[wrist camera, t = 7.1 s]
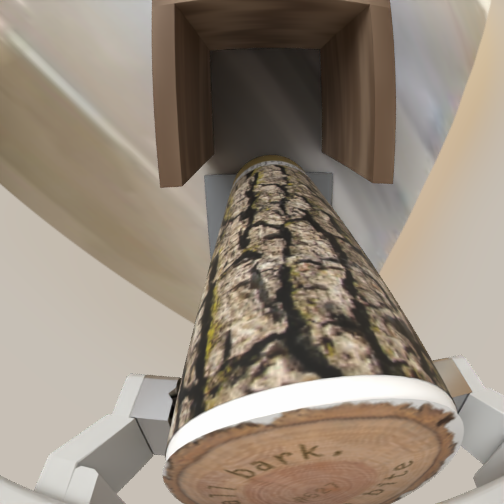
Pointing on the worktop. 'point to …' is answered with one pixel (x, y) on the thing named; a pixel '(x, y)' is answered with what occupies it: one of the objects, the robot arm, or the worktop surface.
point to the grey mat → (220, 191)
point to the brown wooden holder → (276, 36)
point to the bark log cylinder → (302, 364)
